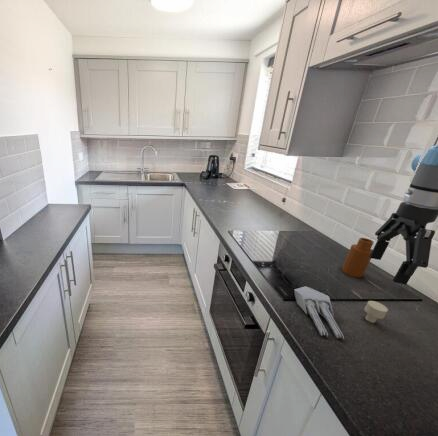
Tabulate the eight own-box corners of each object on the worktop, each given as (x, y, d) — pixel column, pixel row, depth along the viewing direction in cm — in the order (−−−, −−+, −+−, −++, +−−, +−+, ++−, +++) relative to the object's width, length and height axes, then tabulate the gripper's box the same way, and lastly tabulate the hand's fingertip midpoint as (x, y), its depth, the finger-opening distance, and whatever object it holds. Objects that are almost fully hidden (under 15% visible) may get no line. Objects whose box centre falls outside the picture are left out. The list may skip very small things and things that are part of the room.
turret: (311, 339, 71) (317, 330, 68) (288, 289, 87) (292, 280, 85) (347, 345, 69) (354, 336, 67) (317, 293, 86) (322, 284, 84)
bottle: (358, 269, 103) (372, 238, 97) (365, 279, 97) (382, 246, 91) (338, 266, 106) (352, 235, 99) (345, 274, 99) (360, 242, 93)
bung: (375, 316, 78) (383, 303, 75) (383, 327, 73) (391, 313, 71) (358, 312, 79) (365, 299, 77) (364, 323, 75) (372, 309, 72)
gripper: (379, 191, 75) (353, 248, 83) (436, 218, 53) (394, 291, 61) (409, 194, 72) (379, 252, 81) (481, 224, 51) (431, 299, 59)
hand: (385, 269), depth 71 cm, fingers open, 13 cm apart
